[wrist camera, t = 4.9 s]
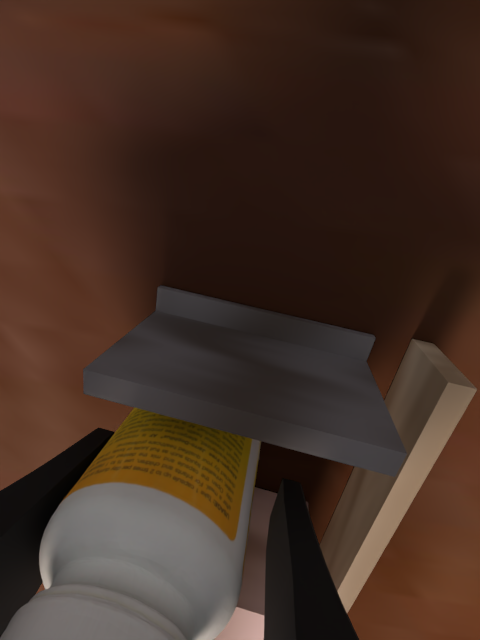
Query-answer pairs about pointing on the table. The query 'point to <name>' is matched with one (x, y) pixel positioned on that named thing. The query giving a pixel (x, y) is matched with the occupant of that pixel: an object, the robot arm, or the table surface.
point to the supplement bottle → (147, 538)
